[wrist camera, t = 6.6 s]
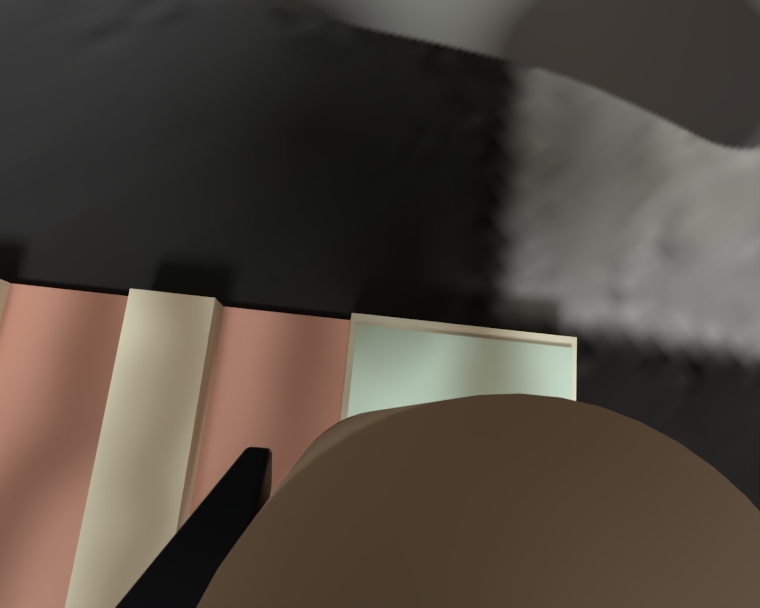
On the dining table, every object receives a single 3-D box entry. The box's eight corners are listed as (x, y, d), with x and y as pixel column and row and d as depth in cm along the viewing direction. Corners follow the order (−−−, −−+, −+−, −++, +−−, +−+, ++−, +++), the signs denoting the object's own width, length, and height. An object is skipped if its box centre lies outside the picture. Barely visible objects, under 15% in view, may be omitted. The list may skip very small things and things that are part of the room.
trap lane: (-349, 604, 19) (-436, 627, 17) (-225, 259, 22) (-285, 241, 20) (550, 662, 21) (575, 689, 19) (556, 343, 24) (578, 336, 22)
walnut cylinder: (520, 513, 14) (1006, 758, 4) (380, 668, 12) (555, 1557, 3) (387, 370, 14) (516, 263, 4) (241, 509, 13) (-30, 788, 3)
